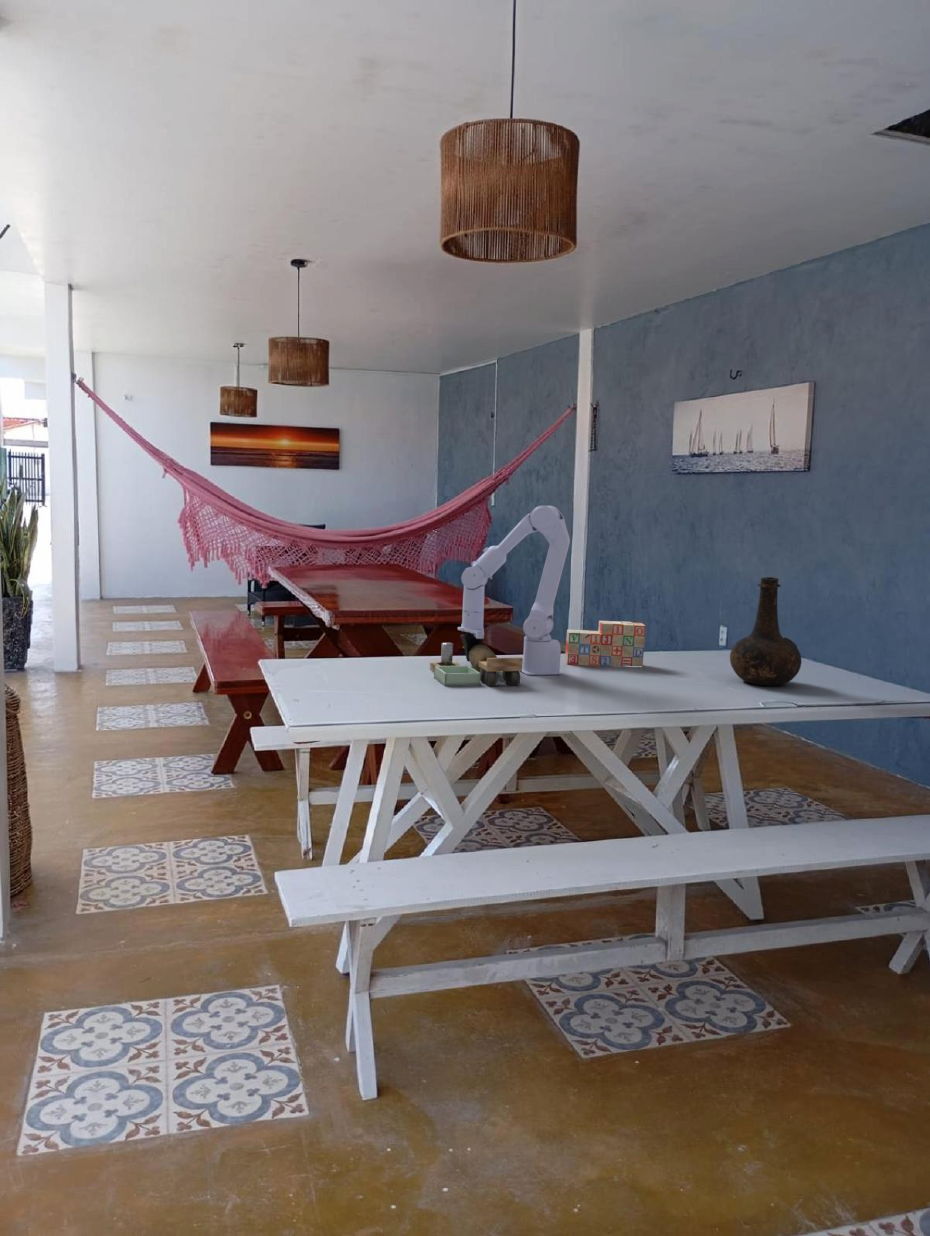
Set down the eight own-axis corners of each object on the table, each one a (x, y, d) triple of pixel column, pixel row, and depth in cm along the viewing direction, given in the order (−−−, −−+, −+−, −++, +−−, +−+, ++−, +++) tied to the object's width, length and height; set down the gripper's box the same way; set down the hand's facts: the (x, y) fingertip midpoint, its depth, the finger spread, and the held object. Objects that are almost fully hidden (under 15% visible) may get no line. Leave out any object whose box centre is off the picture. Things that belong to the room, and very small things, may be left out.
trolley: (511, 680, 246) (512, 653, 245) (521, 686, 239) (523, 658, 238) (477, 680, 243) (478, 653, 242) (487, 687, 236) (488, 658, 235)
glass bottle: (812, 690, 250) (821, 581, 247) (748, 690, 247) (757, 580, 243) (776, 676, 268) (785, 575, 264) (716, 676, 264) (724, 573, 260)
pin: (450, 670, 256) (451, 642, 255) (453, 672, 253) (454, 644, 252) (439, 670, 255) (440, 642, 254) (442, 673, 252) (443, 644, 251)
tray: (468, 677, 247) (468, 665, 247) (480, 685, 238) (480, 673, 238) (434, 678, 245) (434, 666, 244) (444, 686, 235) (445, 673, 235)
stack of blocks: (566, 665, 273) (569, 621, 271) (564, 661, 279) (567, 618, 277) (643, 668, 272) (645, 625, 271) (639, 664, 278) (642, 622, 277)
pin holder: (455, 669, 258) (455, 661, 258) (462, 674, 252) (463, 666, 251) (429, 669, 256) (430, 661, 256) (436, 674, 250) (437, 666, 249)
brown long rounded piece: (463, 667, 262) (464, 642, 261) (488, 667, 263) (489, 642, 262) (476, 678, 247) (477, 652, 246) (503, 678, 249) (504, 652, 248)
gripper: (451, 607, 267) (449, 656, 269) (466, 614, 253) (464, 666, 255) (475, 608, 269) (473, 656, 271) (492, 615, 256) (490, 665, 257)
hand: (471, 661), depth 263 cm, fingers closed
